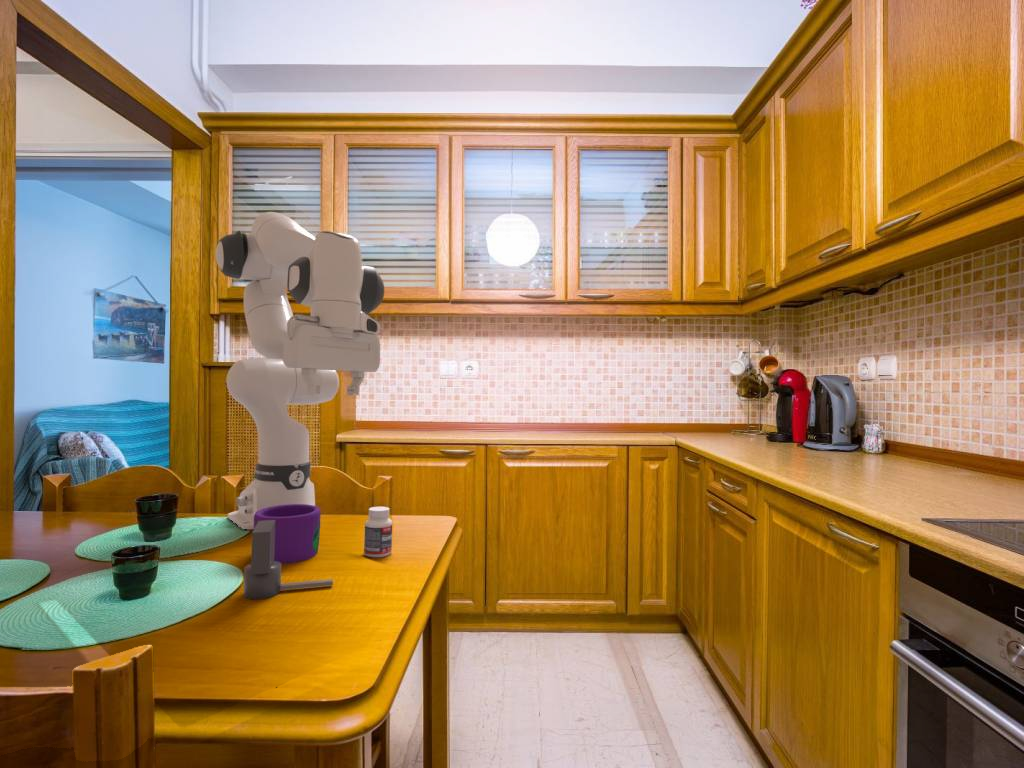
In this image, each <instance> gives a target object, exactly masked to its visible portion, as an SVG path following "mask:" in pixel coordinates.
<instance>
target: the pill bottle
mask: <svg viewBox="0 0 1024 768" xmlns="http://www.w3.org/2000/svg"><path fill="white" fill-rule="evenodd" d="M368 517H369V519H366V521H365V524H364V540H363V542H364V544H363V545H364V546H363V554H364V556H366V557H369V558H375V559H376V558H384V557H387V556H389V555H391V554H392V551H393V547H392V546H393V543H392V542H393V541H392V539H393V521H392V519H391V518H389V517H390V508H389V507H387V506H372V507H369V508H368Z"/></svg>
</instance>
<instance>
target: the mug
mask: <svg viewBox="0 0 1024 768" xmlns="http://www.w3.org/2000/svg"><path fill="white" fill-rule="evenodd" d="M321 514H322V513H321V508H320V507H318V506H317V505H315V506H313V505H306V504H287V505H278V506H272V507H267V508H264V509H261V510H259V511H257V512H256V513H255V515H254V528H255V527H256V525H257V523H258V521H265V520H275V554H274V561H278V562H280V563H281V565H284V564H285V565H286V564H287V565H288V564H294V563H299V562H302V561H307V560H309V559H312V558H314V557H315V556H317V554H318V553H319V546H320V545H319V544H320V536H321Z"/></svg>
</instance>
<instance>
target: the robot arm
mask: <svg viewBox="0 0 1024 768" xmlns="http://www.w3.org/2000/svg"><path fill="white" fill-rule="evenodd" d="M250 230H251V232H250V233H245V232H241V230H237V231H236V232H235V233H230V234H226V235H223V237H221V238H220V239H219V240H218V243H217V246H216V249H215V260H216V264H217V266H218V268H219V271H220V272H221V273H222V274H223V276H225V277H228V278H232V279H237V280H240V279H244V280H251V281H250V282H248V283H247V285H246V286H245V288H244V291H243V311H244V317H245V321H246V322H245V323H246V326H247V331H248V335H249V340H250V344H251V345H252V347H253V349H254V350H255V352H257V353H258V354H260V355H261V356H262V357H253V358H246V359H240V360H236V362H234V363H233V365H232V366H231V367H230V368H229V370H228V372H227V375H226V388H227V390H228V393H229V394H230V396H231V397H232V398H233V399H234V400H235V402H237V403H238V404H240V405H241V406H243V407H244V409H245V410H246V411H248V413H249V414H250V416H251V418H252V420H253V421H254V423H255V426H256V431H257V438H258V440H257V441H258V463H257V464H255V465H253V466H254V467H255V468H254V475H253V478H254V479H253V480H252V481H251V482H250V483H249V484H248V485H247V486H246V488H244V489H243V490H242V491H241V492H240V494H239V496H238V497H236V501H235V502H236V504H235V505H236V507H238V509H237V510H234V511H232V512H229V513H227V518H228V520H229V521H231V520H232V521H233V522H232V521H231V522H232V523H234V524H235V523H236V524H237V525H238V526H237V525H236V524H235V525H236V526H237V527H239V528H240V527H241V528H242V529H241V528H240V529H241V530H244V529H247V530H254V515H255V513H256V512H257V511H259V510H261V509H264V508H267V507H272V506H278V505H287V504H306V505H313V506H316V498H315V497H316V495H315V485H314V484H315V483H313V482H312V481H311V480H310V477H311V475H312V473H311V471H312V466H311V461H310V432H309V430H308V428H307V426H305V425H304V424H303V423H302V422H300V421H298V420H296V419H294V418H292V417H291V416H290V414H289V411H288V406H289V405H290V406H294V405H296V406H297V405H300V406H301V405H302V406H303V405H306V406H307V405H309V406H311V405H312V406H313V405H316V404H322V403H326V402H330V401H332V400H333V399H334V398H335V396H336V395H337V393H338V391H339V388H340V377H339V374H338V372H337V371H339V372H340V371H341V372H350V376H351V378H352V380H351V383H350V385H347V386H346V390H347V391H346V395H347V396H360V387H361V385H362V383H363V381H364V379H365V373H376V372H377V371H378V369H379V368H380V365H381V342H380V339H379V337H378V335H379V334H380V332H381V324H380V323H379V322H378V321H376V320H375V319H373V318H372V317H371V316H369V314H370V313H372V312H374V311H375V310H376V309H378V307H379V306H380V305H381V304H382V302H383V299H384V297H385V284H384V281H383V279H382V277H381V275H380V274H379V273H378V271H377V270H376V268H375V267H374V266H367V265H363V262H362V260H363V259H362V251H361V250H362V249H361V246H360V242H359V240H358V239H357V238H356V237H355V236H352V235H350V234H345V233H341V232H335V231H329V230H327V231H325V230H324V231H322V230H321V231H320V232H317V233H316V235H315V236H314V235H313V234H312V233H310V232H308V231H307V230H306V229H305V228H304V227H302V226H301V225H299V224H298V222H297V221H295V220H293V219H292V218H291V217H288V216H286V215H285V214H284V213H283V214H282V213H280V212H277V211H276V212H274V211H266V212H262V213H261V214H259V215H258V216H257V217H255V219H254V220H253V222H252V225H251V229H250ZM287 292H288V294H290V296H291V298H292V299H293V300H294V301H295V302H296V303H297V304H298V305H299V304H300V305H303V306H305V307H310V315H305V314H301V313H296V314H294V313H293V310H292V306H291V305H290V302H289V299H288V298H289V297H288V294H287Z"/></svg>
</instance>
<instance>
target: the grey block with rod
mask: <svg viewBox="0 0 1024 768" xmlns="http://www.w3.org/2000/svg"><path fill="white" fill-rule="evenodd" d="M274 554H275V520H265V521H258V523H257V525H256V527H255V528H254V529H252V532H251V559H250V560H251V561H250V564H247V565H245V567H244V577H243V579H244V580H243V597H244V598H246V599H248V600H264V599H268V598H273V597H275V596H276V595H279V594H280V593H281V591H286V590H295V589H296V590H298V589H307V588H318V587H328V586H334V579H333V578H329V579H322V580H321V579H318V580H310V581H309V580H308V581H307V580H306V581H299V582H298V581H296V582H287V583H285V582H284V583H282V564H281V563H280V562H278V561H274Z"/></svg>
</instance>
